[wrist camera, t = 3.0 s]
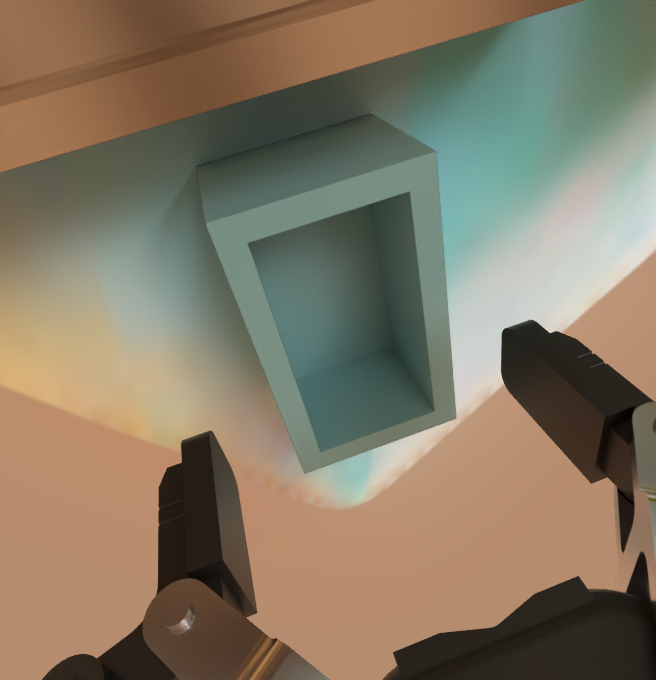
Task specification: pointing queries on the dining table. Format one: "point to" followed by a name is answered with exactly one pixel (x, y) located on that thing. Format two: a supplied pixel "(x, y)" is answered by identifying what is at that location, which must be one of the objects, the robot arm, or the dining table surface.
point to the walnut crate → (195, 57)
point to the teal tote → (339, 282)
